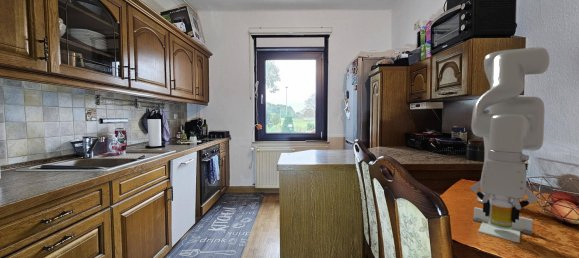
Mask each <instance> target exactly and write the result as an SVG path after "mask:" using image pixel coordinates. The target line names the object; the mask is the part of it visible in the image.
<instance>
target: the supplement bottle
mask: <svg viewBox="0 0 579 258" xmlns="http://www.w3.org/2000/svg"><path fill="white" fill-rule="evenodd" d="M493 197H494V199H491V200H490V203H489V217H488V224H490V225H491V226H493V227H496V228H500V229H511V228H512V216H513V204H512V203H511V202H510V201H509V200H511V198H508V197H505V196H501V195H493Z"/></svg>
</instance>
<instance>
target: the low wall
mask: <svg viewBox="0 0 579 258" xmlns="http://www.w3.org/2000/svg"><path fill="white" fill-rule="evenodd" d="M488 217H489V216H485V212H483V208H480V207H473V218H472V221H473V222H477V223H482V222H484V223H488ZM533 223H534V222H533V219H532V218H527V217H523V216H519V220H517V219H516V222H515V223H513V222H512V228H511V229H513V230H517V231H520V232H522V233H523V234H526V235H533ZM488 224H489V223H488Z"/></svg>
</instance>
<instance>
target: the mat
mask: <svg viewBox="0 0 579 258" xmlns="http://www.w3.org/2000/svg"><path fill="white" fill-rule="evenodd" d="M477 232H478V233H481V234H485V235H488V236H491V237H496V238H500V239H503V240H507V241H510V242H514V243H519V244H520V240H521V231H518V230H514V229H500V228H496V227H493V226H491V225H490V224H489V223H485V222H481V224H480V226H479V228H478V230H477Z"/></svg>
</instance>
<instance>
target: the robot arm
mask: <svg viewBox="0 0 579 258" xmlns="http://www.w3.org/2000/svg"><path fill="white" fill-rule="evenodd" d="M549 66H550V55H549V52H548V50H547V49H546V48H544V47H542V46H537V47H535V46H533V47H526V48H517V49H505V50H504V49H503V50H498V51H493V52H491V53H488V54H487V55H486V56H485V57H484V60H483V69H484V73H485V75H486V79H487V81H488V83H489V86H490V87H489V90H487V91H486V92H484V93H483V94H482V95H481V96H479V98H478V99H477V100H476V101H475V103H474V105H473V109H472V115H471V127H470V129H471V132H472V133H473V135H475V136H476V137H480V138H483V145H484V146H483V147H484V148H483V149H484V158H483V159H484V161H483V165H482V170H481V177H480V180H479V181H477V182H476V183H474V184H472V186H470V190H471V191H472V192H473V193H474V194H475V195H476V200H477V201H478V202H480V204H482V209H483V212H485V216H489V203H490V200H491V199H494V197H493V195H501V196H505V197H508V198H511V200H509V201H510V202H511V203H512V204H513V216H512V222H513V223H515V222H516V219H517V220H519V217H520V211H521V209H523V208H525V207H527V206H528V205H531V204H533V203H536V202H538V200H539V199H538V197H537V196H536V195H535V193H533V192H532V191H531V189H529V187H527V169H526V167H527V166H526V163H523V161H525V160H526V161H529V160H530V159H529V158H530V155H528V154H524V153H523V151H529V152H533V151H539V150H540V149H541V148H542V147H543V143H544V132H545V131H544V130H545V102H544V101H543V100H542V98H540V97H538V96H520V95H521V94H522V93H523V92H524V89H525V81H524V79H525V76H527V75H542V74H544V73H545V72H547V70H548V69H549ZM487 108H489V109H488V110H489V111H488V112H489V113H483V112H484V111H485V110H486V109H487ZM479 188H480V190H479ZM526 196H527V197H528V198H526ZM525 198H526V199H525ZM522 199H523V200H522ZM520 200H521V201H520Z"/></svg>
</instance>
